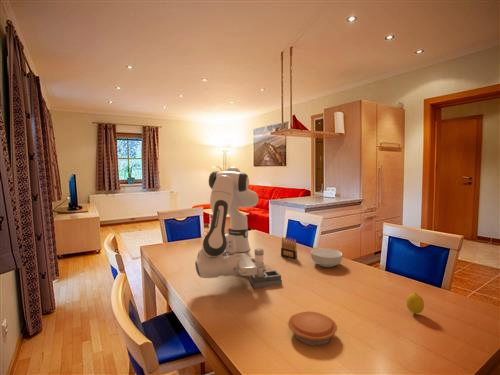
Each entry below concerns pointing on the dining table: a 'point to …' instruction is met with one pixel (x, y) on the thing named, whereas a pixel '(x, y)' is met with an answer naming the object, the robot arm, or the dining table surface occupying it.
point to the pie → (312, 327)
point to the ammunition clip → (289, 248)
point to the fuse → (258, 259)
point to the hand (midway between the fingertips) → (261, 262)
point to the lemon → (415, 303)
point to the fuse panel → (266, 279)
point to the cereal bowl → (326, 257)
